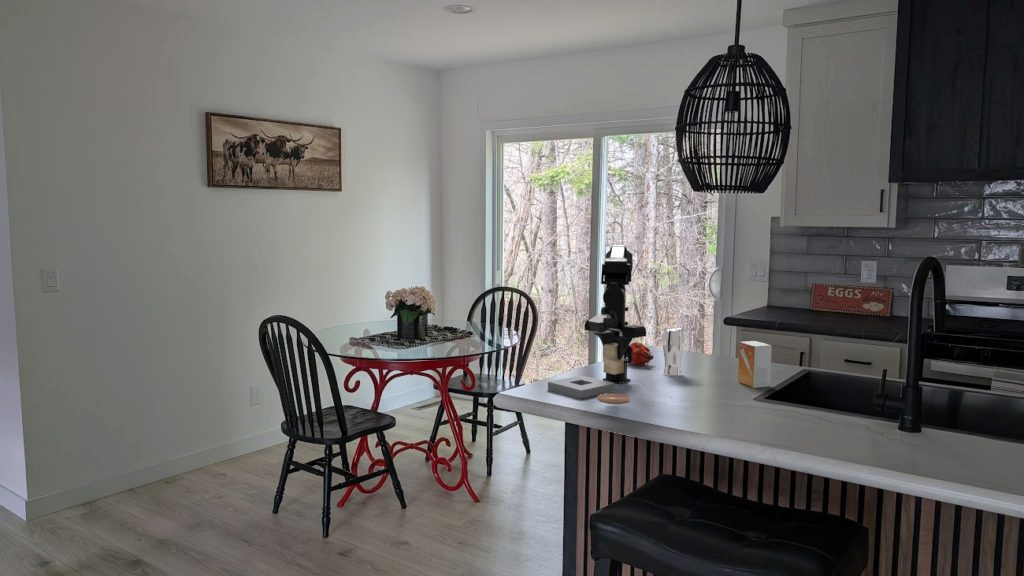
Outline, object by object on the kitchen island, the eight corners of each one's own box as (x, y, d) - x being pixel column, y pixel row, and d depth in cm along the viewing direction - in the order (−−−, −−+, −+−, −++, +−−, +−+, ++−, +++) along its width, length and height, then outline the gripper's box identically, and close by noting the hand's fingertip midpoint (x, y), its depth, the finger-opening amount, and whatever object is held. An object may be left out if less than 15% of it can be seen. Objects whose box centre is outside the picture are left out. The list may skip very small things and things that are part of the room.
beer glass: (686, 373, 242) (687, 328, 241) (679, 377, 236) (680, 331, 235) (666, 371, 246) (667, 327, 244) (658, 374, 240) (660, 329, 239)
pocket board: (580, 383, 228) (580, 375, 227) (614, 391, 217) (614, 383, 217) (547, 389, 219) (547, 381, 219) (581, 399, 208) (581, 390, 208)
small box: (737, 382, 230) (738, 341, 229) (754, 381, 232) (756, 340, 231) (753, 388, 222) (754, 346, 221) (770, 386, 224) (772, 345, 223)
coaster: (612, 393, 214) (612, 391, 214) (636, 399, 207) (636, 397, 207) (591, 398, 209) (591, 396, 209) (614, 405, 202) (614, 402, 202)
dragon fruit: (629, 365, 263) (648, 376, 252) (614, 353, 259) (633, 364, 248) (642, 346, 263) (662, 356, 253) (628, 334, 259) (648, 344, 249)
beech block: (613, 370, 210) (613, 342, 209) (623, 372, 207) (624, 344, 206) (603, 372, 208) (604, 344, 207) (614, 374, 204) (614, 346, 204)
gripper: (571, 302, 207) (570, 356, 209) (620, 309, 193) (619, 367, 195) (598, 299, 214) (597, 352, 216) (648, 306, 200) (646, 362, 202)
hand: (614, 358), depth 207 cm, fingers closed on beech block, 4 cm apart
